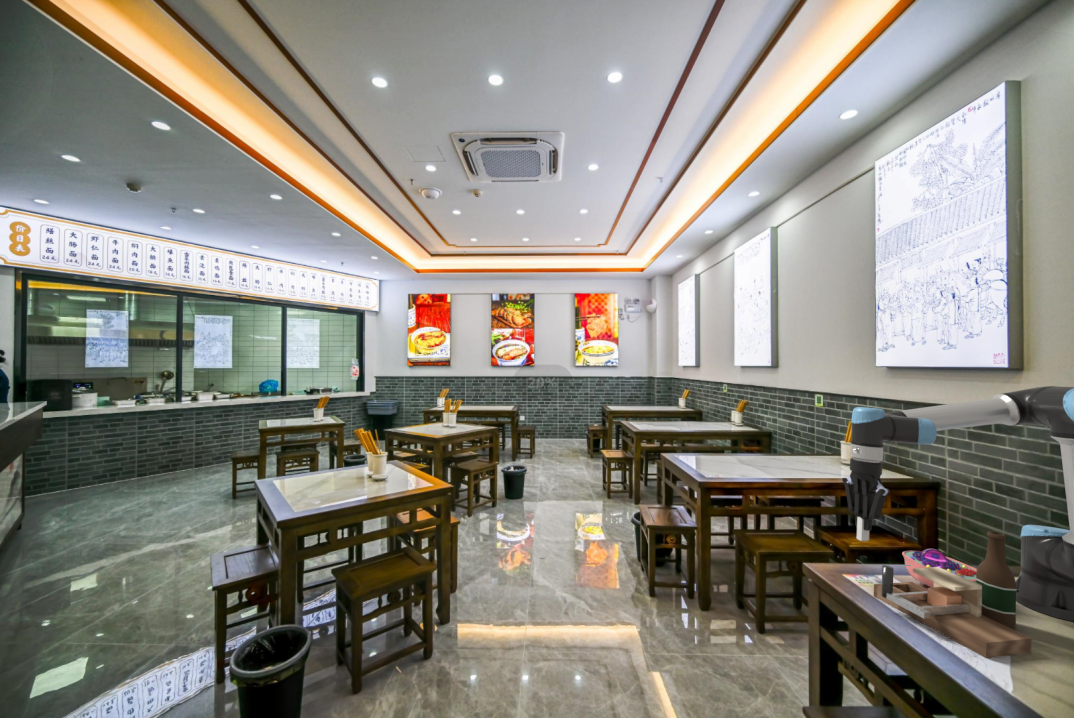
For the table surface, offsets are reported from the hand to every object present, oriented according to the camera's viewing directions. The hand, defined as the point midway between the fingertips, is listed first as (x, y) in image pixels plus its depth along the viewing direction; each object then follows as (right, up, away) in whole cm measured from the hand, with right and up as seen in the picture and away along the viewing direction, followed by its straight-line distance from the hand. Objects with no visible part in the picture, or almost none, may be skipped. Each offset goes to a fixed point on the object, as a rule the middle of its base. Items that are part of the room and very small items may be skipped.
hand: (862, 539), depth 122 cm
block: (+14, -14, -10) cm, 22 cm away
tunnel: (+14, -14, -10) cm, 22 cm away
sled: (+9, -13, -10) cm, 19 cm away
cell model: (+29, -18, +6) cm, 35 cm away
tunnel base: (+13, -17, -11) cm, 24 cm away
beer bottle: (+27, -18, -11) cm, 34 cm away
